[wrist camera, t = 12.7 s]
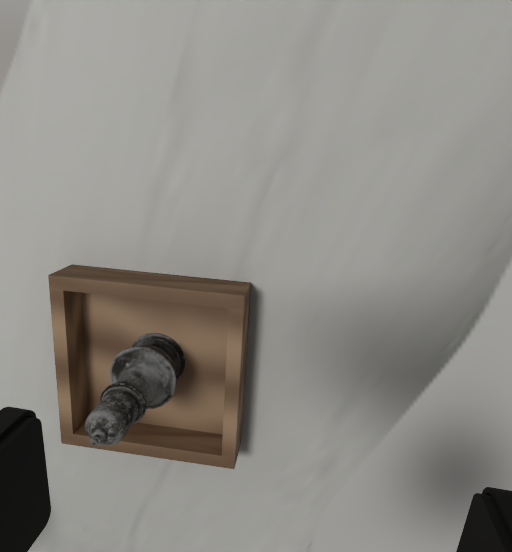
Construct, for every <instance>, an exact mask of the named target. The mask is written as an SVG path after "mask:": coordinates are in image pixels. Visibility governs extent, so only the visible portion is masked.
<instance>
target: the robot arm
mask: <svg viewBox="0 0 512 552" xmlns="http://www.w3.org/2000/svg"><path fill="white" fill-rule="evenodd" d="M50 512H51V505H50V496H49V487H48V478H47V469H46V461H45V452H44V443H43V434H42V425H41V421H40V420H39V419H37V418H36V414H35V413H34V412H33V411H31V410H25V409H19V408H13V407H5V408H3V409H2V410H0V552H27V551H28V550H29V549H30V547H31V546H32V544H33V543H34V542H35V540H36V539H37V537H38V536H39V535H40V533H41V532H42V530H43V529H44V528H45V526H46V524H47V522H48V520H49V517H50ZM457 552H512V491H508V490H502V489H496V488H490V487H486V488H485V489H484V490H483V492H482V494H478V493H476V494H475V495H474V496H473V499H472V502H471V506H470V509H469V512H468V515H467V519H466V522H465V525H464V529H463V532H462V535H461V539H460V542H459V545H458V549H457Z"/></svg>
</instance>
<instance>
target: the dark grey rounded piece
mask: <svg viewBox="0 0 512 552" xmlns="http://www.w3.org/2000/svg"><path fill="white" fill-rule="evenodd" d="M184 368H185V357H184V353H183V351H182V349H181V347H180V346H179V345H178V344H177V342H176V341H174V340H173V339H172V338H170V337H169V336H166V335H164V334H160V333H148V334H145V335H142V336H141V337H139V338H138V339H137V340H136V341H135V342H134V343H133V345H132V347H130V348H127V349H124V350H122V351H121V352H120V353H119V354H117V355H116V357H115V358H114V360H113V361H112V363H111V367H110V380H111V385H109V386H108V387H106V388H105V389H104V391H103V392H102V394H101V397H100V403H99V404H98V405H97V406H96V407H95V409H94V410H93V411H92V412H91V413H90V414H89V416H88V417H87V420H86V423H85V430H86V433H87V436H88V437H89V439H90V440H91V444H92V445H101V446H111V445H115V444H116V443H118V442H119V441H120V440H122V438H123V437H124V436H125V434H126V433H127V431H128V430H129V428H130V427H131V425H132V424H134V423H137V422H138V421H140V420H141V419H142V418H143V416H144V415H145V412H146V409H155V408H158V407H161V406H163V405H164V404H166V403H167V402H169V400H170V399H171V398H172V396H173V395H174V392H175V390H176V383H177V379H179V377H180V376H181V375H182V373H183V371H184Z"/></svg>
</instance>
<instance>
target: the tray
mask: <svg viewBox="0 0 512 552" xmlns="http://www.w3.org/2000/svg"><path fill="white" fill-rule="evenodd" d="M49 288H50V301H51V314H52V327H53V340H54V352H55V365H56V378H57V391H58V404H59V416H60V429H61V442H62V443H63V444H70V445H77V446H83V447H90V448H97V449H103V450H110V451H117V452H124V453H130V454H137V455H144V456H150V457H157V458H164V459H170V460H177V461H184V462H191V463H197V464H204V465H211V466H217V467H224V468H231V469H234V468H235V464H236V460H237V456H238V452H239V448H240V444H241V430H242V415H243V399H244V384H245V368H246V353H247V337H248V322H249V306H250V291H251V283H247V282H237V281H227V280H218V279H208V278H198V277H188V276H178V275H168V274H158V273H148V272H138V271H129V270H119V269H109V268H99V267H89V266H79V265H70V266H68V267H66V268H63V269H61V270H59V271H57V272H55V273H52V274H50V275H49ZM148 333H160V334H164V335H166V336H169V337H170V338H172V339H173V340H174V341H176V342H177V344H178V345H179V346H180V347H181V349H182V351H183V353H184V357H185V368H184V371H183V373H182V375H181V376H180V377H179V379H177V383H176V390H175V392H174V395H173V396H172V398H171V399H170V400H169V402H167V403H166V404H164V405H163V406H161V407H158V408H155V409H146V412H145V415H144V416H143V418H142V419H141V420H140V421H138V422H137V423H134V424H132V425H131V427H130V428H129V430H128V431H127V433H126V434H125V436H124V437H123V438H122V440H120V441H119V442H118V443H116V444H115V445H111V446H101V445H92V444H91V440H90V439H89V437H88V436H87V433H86V430H85V423H86V420H87V417H88V416H89V414H90V413H91V412H92V411H93V410H94V409H95V407H96V406H97V405H98V404H99V403H100V397H101V394H102V392H103V391H104V389H105V388H106V387H108V386H109V385H111V380H110V367H111V363H112V361H113V360H114V358H115V357H116V355H117V354H119V353H120V352H121V351H122V350H124V349H127V348H130V347H132V345H133V343H134V342H135V341H136V340H137V339H138V338H139V337H141V336H142V335H145V334H148Z"/></svg>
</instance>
